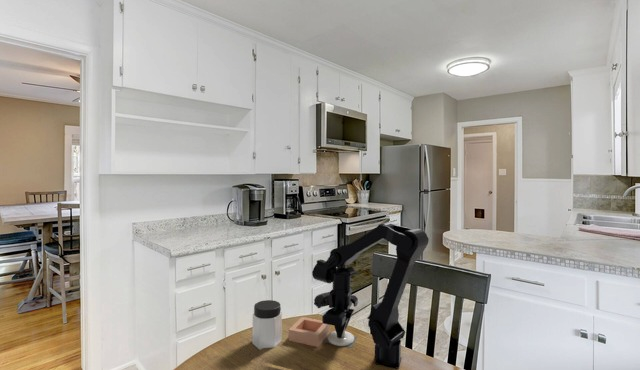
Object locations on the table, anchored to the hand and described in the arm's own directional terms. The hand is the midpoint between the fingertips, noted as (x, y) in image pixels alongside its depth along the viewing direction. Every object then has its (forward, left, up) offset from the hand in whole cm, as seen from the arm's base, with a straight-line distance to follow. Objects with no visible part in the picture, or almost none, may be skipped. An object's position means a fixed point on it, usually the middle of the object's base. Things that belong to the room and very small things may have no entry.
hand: (340, 335), depth 101 cm
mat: (0, 0, -2) cm, 2 cm away
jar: (+21, +10, -2) cm, 23 cm away
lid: (0, 0, -1) cm, 1 cm away
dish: (+10, +2, -2) cm, 10 cm away
